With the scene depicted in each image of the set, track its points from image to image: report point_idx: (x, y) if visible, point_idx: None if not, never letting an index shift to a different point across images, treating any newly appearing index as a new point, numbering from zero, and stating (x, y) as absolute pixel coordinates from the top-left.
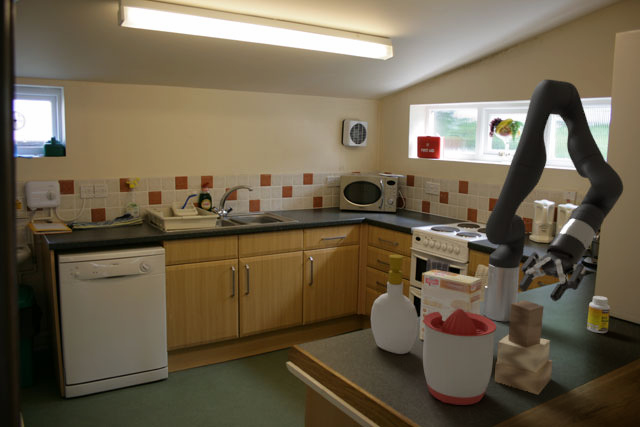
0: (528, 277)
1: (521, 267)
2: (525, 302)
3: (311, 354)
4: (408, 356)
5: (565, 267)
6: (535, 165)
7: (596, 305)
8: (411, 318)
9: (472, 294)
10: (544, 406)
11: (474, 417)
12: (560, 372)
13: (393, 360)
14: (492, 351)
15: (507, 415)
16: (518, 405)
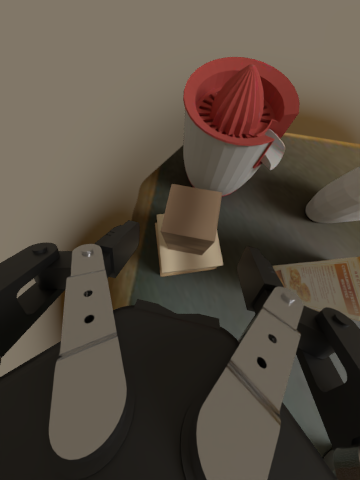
0: (259, 278)
1: (354, 324)
2: (204, 225)
3: (354, 146)
4: (299, 210)
5: (41, 355)
6: None
7: None
8: (345, 180)
9: (357, 270)
10: (144, 212)
11: (178, 156)
12: (162, 305)
13: (299, 191)
14: (185, 140)
15: (161, 176)
16: (162, 197)
